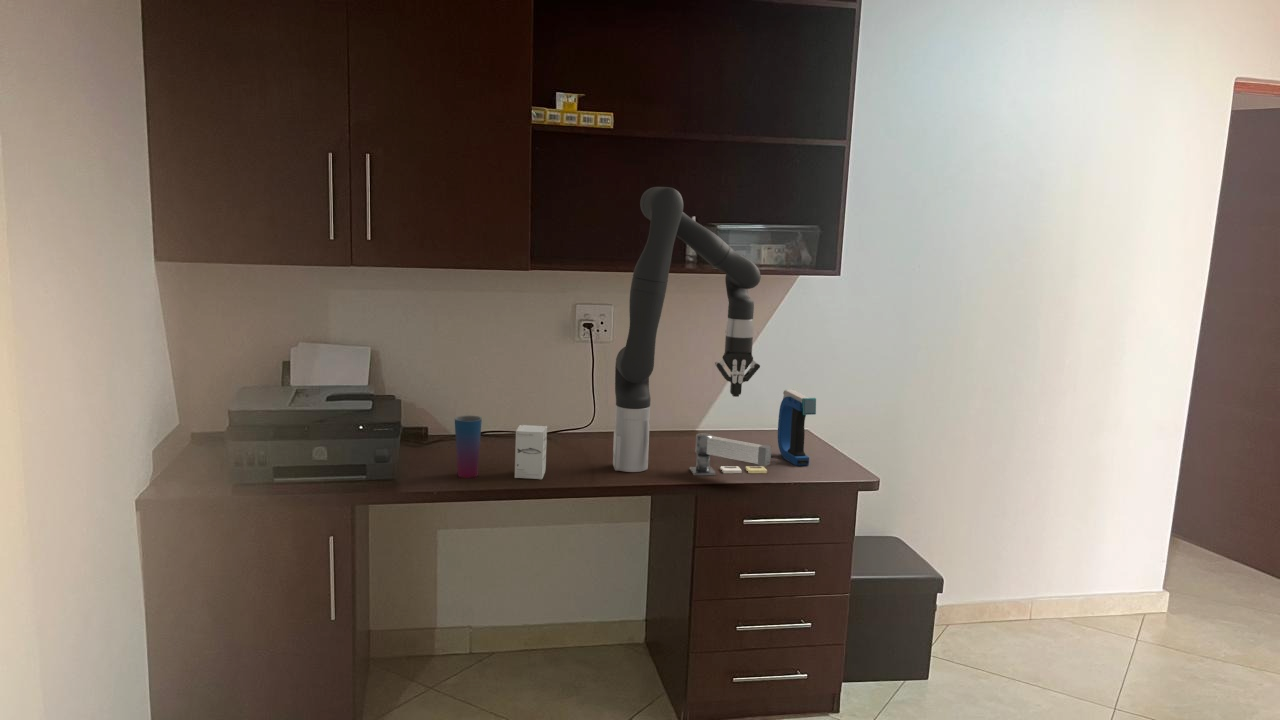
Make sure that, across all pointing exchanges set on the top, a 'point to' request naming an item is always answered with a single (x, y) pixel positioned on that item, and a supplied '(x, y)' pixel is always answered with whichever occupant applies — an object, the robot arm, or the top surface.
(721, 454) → the bar
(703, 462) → the gray square plate
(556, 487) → the top surface
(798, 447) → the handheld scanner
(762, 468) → the label plate
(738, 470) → the label plate
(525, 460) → the supplement box
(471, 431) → the cup
